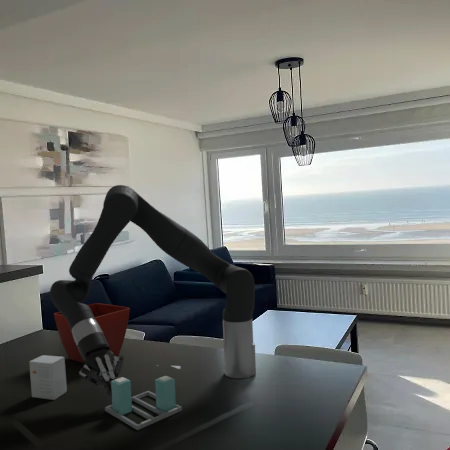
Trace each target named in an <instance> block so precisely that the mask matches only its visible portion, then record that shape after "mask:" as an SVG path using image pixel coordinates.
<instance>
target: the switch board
mask: <svg viewBox="0 0 450 450" xmlns="http://www.w3.org/2000/svg"><path fill="white" fill-rule="evenodd" d="M148 396H149V397H150V398H153V400H154V399H155V400H156V393H155V392H152V391H150V390H147V391H144V392H142V393H139V394H136V395H133V396H131V400H132V402H134V403H136V404H138V405H140V406H142V407H144V408H146V409H147V410H149V411H151V412H153V413H155V414H157V415H156V416H153V415H151V414H149V413H147V412H145V411H143V410H142V409H140V408H138V407H136V406H134V405H133V404H132V412H134V413H136V414H138V415H140V417H143V419H144V418H145V419H146V420H144V421H141V422H140V423H136V422H135V421H133V420H131V419H129V418H128V417H126V416H125V415H121V414H119V413H118V412H116V411H114V410H113V408H112V404H109V405H107V406H105V407H104V411H105V412H106V413H108V414H110V415H111V416H113V417H115V418H117V419H118V420H120V421H121V422H123V423H125V424H127V425H128V426H130V427H131V428H133V429H134V430H136V431H139V430H141V429H143V428H146V427H149V426H151V425H152V424H154V423H157V422H159V421H161V420H164V419H166V418H169V417H170V416H173V415H175V414H177V413H179V412H182V411H183V407H182V405H179V404H178V403H177V404H176V408H174V409H172V410H169V411H168V412H166V413H165V412H163V411H162V410H160V409H158V408H156V406H154V405H152V404H150V403H147V402H146V401H144V400H142V398H145V397H148Z"/></svg>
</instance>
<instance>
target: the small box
mask: <svg viewBox="0 0 450 450" xmlns="http://www.w3.org/2000/svg"><path fill="white" fill-rule="evenodd" d="M65 361H66V360H65V356H56V355H47V354H44V355H43V354H42V355H39V356H38V357H36V358H34V359H31V360H29V376H30V387H31V388H30V389H31V397H32V398H37V399H45V400H53V401H55V400H56V399H58V398H59V397H61V396H63V395H64V394H66V393H67V391H68V390H67V389H68V385H67V375H66V374H67V373H66V363H65Z"/></svg>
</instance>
